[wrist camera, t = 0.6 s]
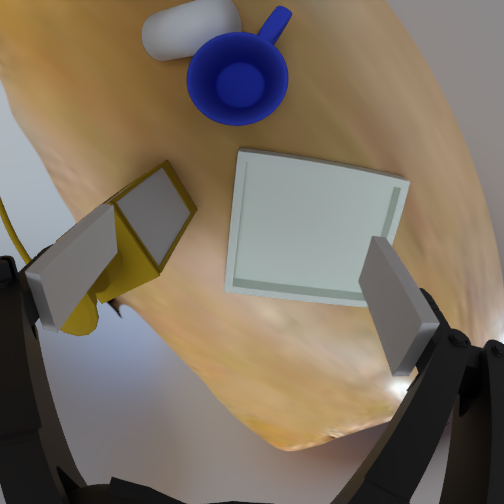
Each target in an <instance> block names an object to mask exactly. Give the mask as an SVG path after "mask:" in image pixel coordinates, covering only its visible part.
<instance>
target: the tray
mask: <svg viewBox="0 0 504 504" xmlns="http://www.w3.org/2000/svg"><path fill="white" fill-rule="evenodd" d="M409 185H410V181H408V180H407V179H405V178H404V177H402V176H399V175H395V174H391V173H386V172H382V171H378V170H373V169H368V168H364V167H359V166H354V165H349V164H344V163H339V162H333V161H328V160H322V159H316V158H311V157H304V156H298V155H292V154H285V153H278V152H271V151H264V150H256V149H248V148H240V149H239V151H238V158H237V167H236V176H235V185H234V194H233V204H232V214H231V224H230V234H229V244H228V254H227V265H226V276H225V287H224V292H230V293H238V294H246V295H254V296H262V297H271V298H279V299H288V300H297V301H306V302H316V303H326V304H336V305H347V306H358V307H368V305H367V303H366V300H365V298H364V295H363V293H362V290H361V288H360V285H359V283H358V280H359V277H360V274H361V271H362V268H363V265H364V261H365V258H366V255H367V252H368V248H369V245H370V242H371V238H372V236H378V237H385V238H386V239H387V240H388V242H389V243H390V245H391V246H392V244H393V241H394V237H395V234H396V231H397V228H398V224H399V221H400V218H401V214H402V211H403V207H404V204H405V200H406V196H407V192H408V189H409Z"/></svg>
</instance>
